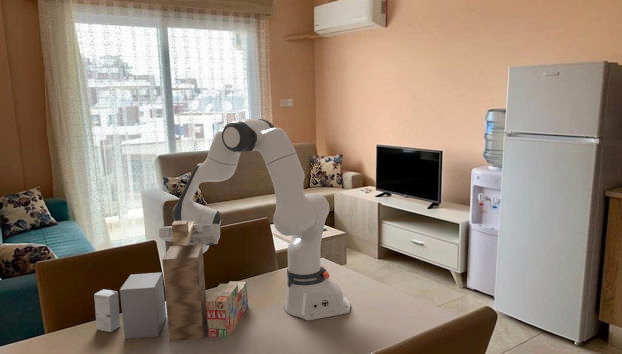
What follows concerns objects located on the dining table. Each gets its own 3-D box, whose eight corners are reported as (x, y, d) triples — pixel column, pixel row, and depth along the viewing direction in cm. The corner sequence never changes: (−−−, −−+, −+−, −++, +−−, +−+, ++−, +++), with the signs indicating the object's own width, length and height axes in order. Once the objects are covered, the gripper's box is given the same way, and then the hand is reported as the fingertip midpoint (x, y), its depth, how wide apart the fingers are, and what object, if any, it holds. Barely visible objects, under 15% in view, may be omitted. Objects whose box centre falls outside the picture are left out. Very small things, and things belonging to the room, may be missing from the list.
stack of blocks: (231, 305, 157) (229, 272, 155) (248, 306, 156) (246, 273, 154) (208, 337, 136) (205, 299, 134) (227, 338, 135) (225, 300, 133)
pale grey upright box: (166, 317, 149) (162, 272, 147) (158, 336, 138) (154, 287, 135) (135, 320, 148) (130, 274, 145) (124, 338, 136) (119, 289, 134)
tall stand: (207, 319, 147) (202, 244, 143) (203, 338, 135) (197, 257, 131) (176, 322, 146) (170, 246, 141) (169, 341, 134) (162, 259, 130)
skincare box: (96, 330, 142) (92, 294, 140) (106, 323, 146) (102, 288, 144) (112, 332, 140) (108, 296, 138) (121, 325, 144) (118, 290, 142)
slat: (195, 228, 150) (193, 209, 149) (187, 244, 133) (185, 223, 132) (183, 228, 150) (181, 209, 149) (173, 245, 132) (171, 224, 131)
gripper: (163, 229, 158) (154, 219, 145) (221, 226, 161) (218, 216, 148) (163, 246, 156) (153, 238, 143) (222, 243, 159) (218, 234, 146)
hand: (187, 226), depth 146 cm, fingers closed on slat, 4 cm apart
